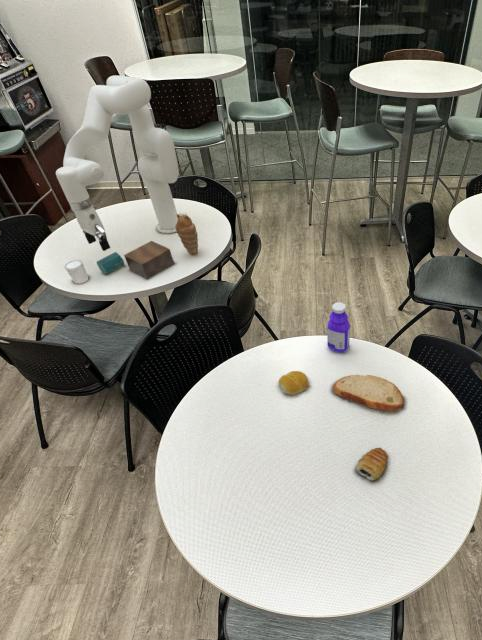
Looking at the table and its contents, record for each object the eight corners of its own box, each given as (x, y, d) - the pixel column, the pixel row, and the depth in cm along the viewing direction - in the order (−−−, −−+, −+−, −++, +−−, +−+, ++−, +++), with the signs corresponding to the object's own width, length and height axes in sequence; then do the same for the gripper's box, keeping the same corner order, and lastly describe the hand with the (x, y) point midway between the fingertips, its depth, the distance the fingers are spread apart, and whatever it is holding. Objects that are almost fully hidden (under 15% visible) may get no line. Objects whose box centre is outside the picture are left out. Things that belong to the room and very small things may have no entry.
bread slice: (328, 385, 131) (328, 376, 128) (380, 367, 135) (381, 359, 132) (354, 428, 119) (355, 420, 117) (409, 407, 124) (411, 399, 121)
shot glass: (84, 285, 171) (76, 270, 166) (69, 283, 172) (60, 268, 167) (93, 275, 175) (85, 260, 170) (78, 274, 177) (70, 259, 171)
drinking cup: (117, 262, 182) (112, 250, 177) (125, 266, 179) (120, 254, 175) (100, 271, 177) (94, 259, 173) (108, 276, 175) (102, 264, 170)
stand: (156, 255, 185) (151, 240, 180) (174, 263, 180) (169, 249, 174) (129, 270, 177) (123, 255, 172) (147, 279, 172) (141, 264, 167)
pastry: (371, 446, 115) (372, 438, 112) (393, 458, 112) (395, 450, 109) (353, 471, 110) (353, 464, 107) (375, 485, 107) (377, 477, 104)
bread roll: (313, 387, 130) (312, 378, 127) (288, 399, 127) (287, 391, 124) (299, 371, 135) (298, 362, 132) (274, 382, 132) (273, 374, 129)
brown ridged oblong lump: (180, 256, 183) (167, 217, 170) (190, 247, 188) (179, 208, 175) (197, 260, 181) (186, 220, 167) (207, 251, 186) (197, 211, 172)
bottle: (351, 345, 142) (353, 303, 129) (345, 355, 139) (346, 314, 126) (331, 339, 145) (331, 297, 132) (325, 350, 141) (324, 308, 128)
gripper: (103, 205, 155) (120, 248, 167) (77, 194, 162) (95, 235, 175) (84, 213, 151) (103, 256, 163) (59, 201, 158) (79, 243, 171)
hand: (99, 245), depth 169 cm, fingers open, 9 cm apart
